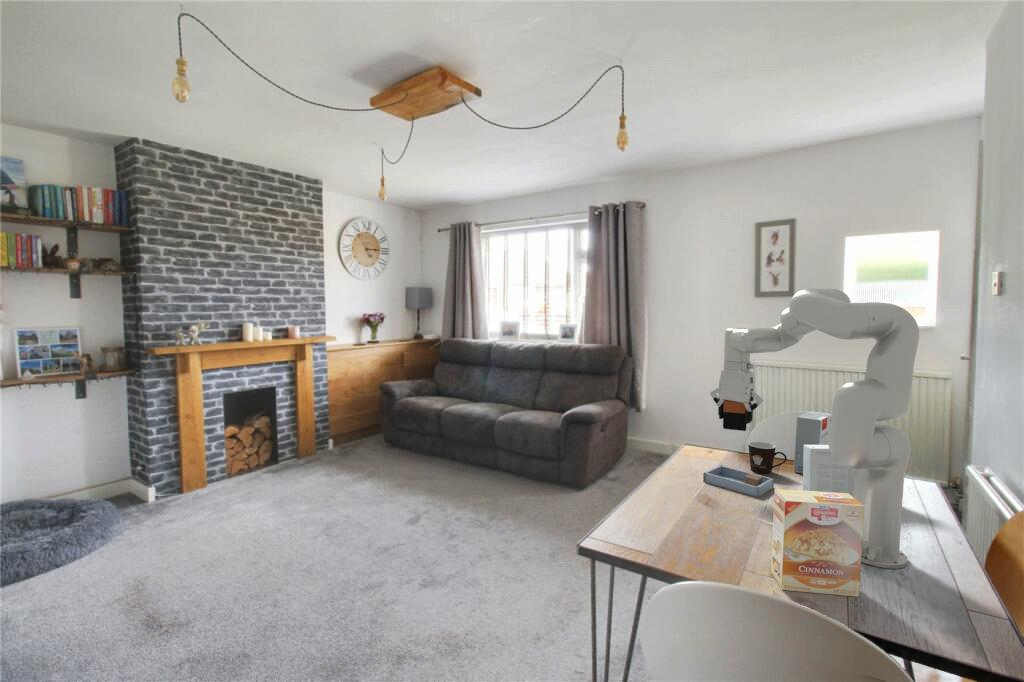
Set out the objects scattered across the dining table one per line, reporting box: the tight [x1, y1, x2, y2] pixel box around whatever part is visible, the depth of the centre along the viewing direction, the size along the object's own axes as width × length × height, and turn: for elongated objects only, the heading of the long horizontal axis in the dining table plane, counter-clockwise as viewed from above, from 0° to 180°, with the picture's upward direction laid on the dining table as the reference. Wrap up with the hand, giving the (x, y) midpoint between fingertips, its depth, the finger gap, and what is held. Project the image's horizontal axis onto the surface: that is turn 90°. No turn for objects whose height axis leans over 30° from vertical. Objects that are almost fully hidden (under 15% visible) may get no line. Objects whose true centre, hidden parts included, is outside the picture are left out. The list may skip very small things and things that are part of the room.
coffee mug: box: [748, 440, 788, 475], centre depth 169 cm, size 12×9×10 cm
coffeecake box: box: [770, 488, 864, 598], centre depth 103 cm, size 15×7×20 cm, turn 80°
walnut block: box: [744, 473, 763, 487], centre depth 155 cm, size 4×4×4 cm
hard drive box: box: [793, 410, 832, 475], centre depth 173 cm, size 16×8×20 cm, turn 132°
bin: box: [702, 464, 775, 498], centre depth 159 cm, size 12×18×4 cm, turn 40°
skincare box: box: [802, 445, 855, 496], centre depth 149 cm, size 21×6×16 cm, turn 84°
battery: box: [722, 400, 747, 432], centre depth 156 cm, size 4×7×10 cm, turn 64°
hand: (734, 420), depth 157 cm, fingers closed on battery, 7 cm apart
